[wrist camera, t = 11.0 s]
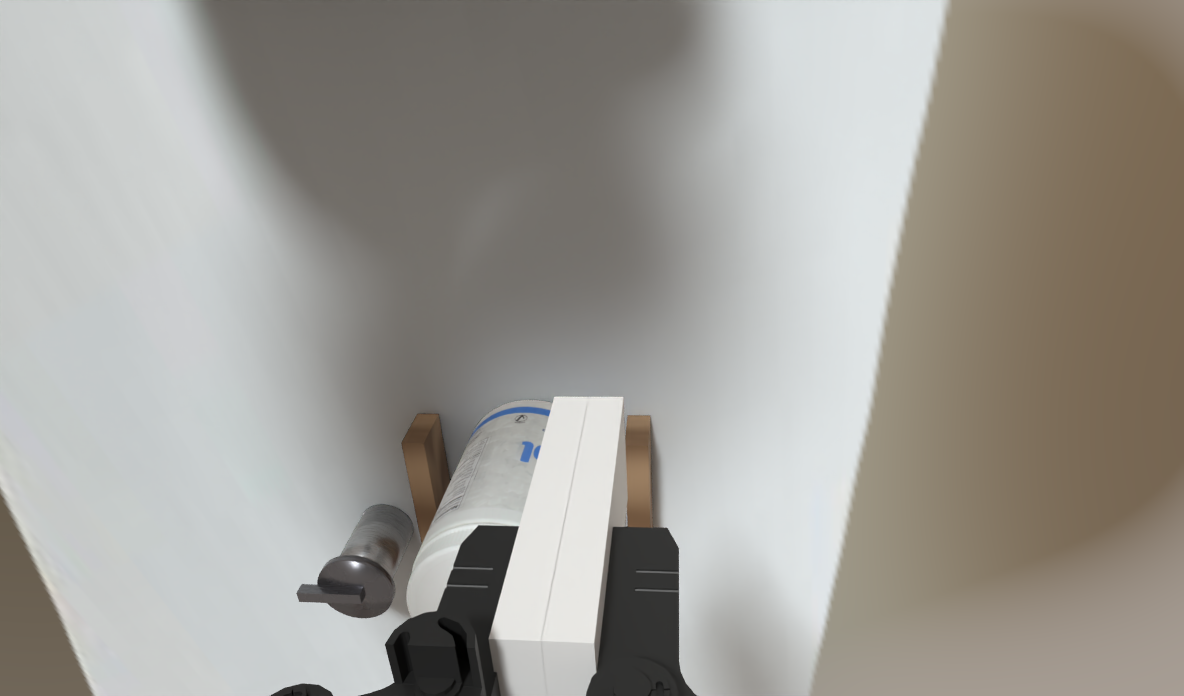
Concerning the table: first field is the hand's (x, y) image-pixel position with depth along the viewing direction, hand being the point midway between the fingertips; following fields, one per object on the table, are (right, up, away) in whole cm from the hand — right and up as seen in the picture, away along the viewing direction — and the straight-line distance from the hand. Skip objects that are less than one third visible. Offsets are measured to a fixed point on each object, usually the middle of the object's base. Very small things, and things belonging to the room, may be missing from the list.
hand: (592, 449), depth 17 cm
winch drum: (-15, -11, +41) cm, 45 cm away
